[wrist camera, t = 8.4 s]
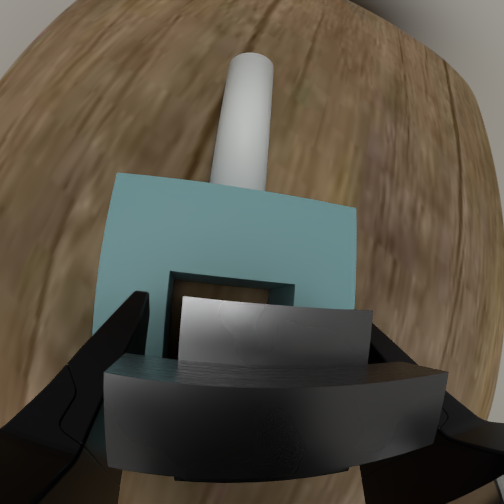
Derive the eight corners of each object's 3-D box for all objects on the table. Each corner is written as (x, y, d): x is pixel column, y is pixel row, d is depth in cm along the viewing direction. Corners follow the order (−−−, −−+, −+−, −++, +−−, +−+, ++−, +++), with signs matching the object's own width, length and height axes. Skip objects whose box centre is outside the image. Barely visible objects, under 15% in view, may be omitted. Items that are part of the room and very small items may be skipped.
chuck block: (303, 439, 17) (333, 469, 13) (113, 430, 15) (95, 463, 10) (319, 106, 21) (345, 71, 17) (164, 79, 19) (164, 36, 15)
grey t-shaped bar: (265, 370, 17) (419, 488, 4) (163, 363, 16) (115, 517, 3) (271, 305, 18) (455, 311, 5) (169, 294, 17) (108, 286, 4)
